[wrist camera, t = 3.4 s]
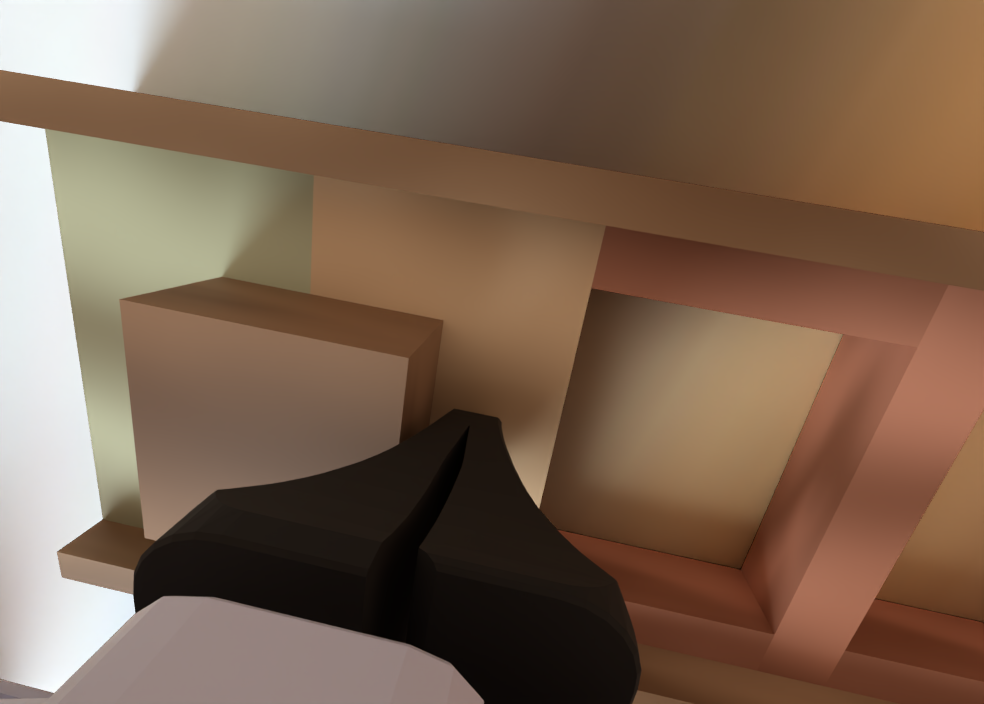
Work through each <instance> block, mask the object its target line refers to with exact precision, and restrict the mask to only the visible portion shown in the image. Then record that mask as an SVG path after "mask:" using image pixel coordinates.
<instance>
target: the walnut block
mask: <svg viewBox="0 0 984 704" xmlns="http://www.w3.org/2000/svg"><path fill="white" fill-rule="evenodd" d="M119 302H120V311H121V320H122V330H123V339H124V349H125V358H126V367H127V377H128V386H129V396H130V405H131V414H132V424H133V433H134V443H135V452H136V461H137V471H138V480H139V490H140V499H141V508H142V518H143V527H144V537H145V538H147V539H151V540H155V541H157V540H158V539H159V538H160V537H161V536H162V535H163V534H165V533H166V532H167V531H168V530H169V529H170V528H172V527H173V526H174V525H175V524H176V523H177V522H179V521H180V520H181V519H182V518H183V517H184V516H185V515H187V514H188V513H189V512H190V511H191V510H192V509H194V508H195V507H196V506H197V505H198V504H200V503H201V502H202V501H203V500H205V499H206V498H207V497H208V496H209V495H211V494H212V493H213V492H215V491H216V490H219V489H231V488H239V487H248V486H256V485H265V484H272V483H278V482H284V481H289V480H295V479H300V478H304V477H309V476H313V475H317V474H321V473H325V472H328V471H332V470H335V469H338V468H341V467H345V466H348V465H351V464H354V463H357V462H360V461H363V460H365V459H368V458H370V457H373V456H375V455H377V454H380V453H382V452H384V451H386V450H388V449H390V448H393V447H394V446H396V445H398V444H400V443H402V442H403V441H405V440H407V439H409V438H411V437H412V436H414V435H416V434H417V433H419V432H420V431H422V430H423V429H425V428H426V427H428V426H429V424H430V416H431V409H432V402H433V395H434V387H435V380H436V373H437V365H438V358H439V351H440V343H441V336H442V329H443V321H444V320H440V319H434V318H429V317H424V316H419V315H414V314H409V313H404V312H399V311H394V310H389V309H384V308H379V307H373V306H368V305H363V304H358V303H353V302H348V301H343V300H338V299H333V298H328V297H323V296H318V295H313V294H307V293H302V292H297V291H292V290H287V289H282V288H277V287H272V286H267V285H262V284H257V283H252V282H246V281H241V280H236V279H231V278H226V277H218V278H214V279H209V280H204V281H200V282H195V283H191V284H186V285H182V286H177V287H173V288H168V289H164V290H159V291H155V292H150V293H146V294H141V295H137V296H132V297H127V298H123V299H119Z"/></svg>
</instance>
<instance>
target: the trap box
mask: <svg viewBox="0 0 984 704" xmlns="http://www.w3.org/2000/svg"><path fill="white" fill-rule="evenodd" d="M0 121H3V122H9V123H14V124H20V125H26V126H32V127H38V128H43V129H45V131H46V138H47V145H48V152H49V158H50V165H51V172H52V179H53V185H54V192H55V199H56V206H57V212H58V219H59V226H60V233H61V239H62V246H63V253H64V259H65V266H66V273H67V280H68V286H69V293H70V300H71V307H72V313H73V320H74V327H75V334H76V340H77V347H78V354H79V361H80V367H81V374H82V381H83V387H84V394H85V401H86V408H87V414H88V421H89V428H90V435H91V441H92V448H93V455H94V462H95V468H96V475H97V482H98V489H99V495H100V502H101V509H102V515H103V520H101V521H100V522H99V523H97V524H96V525H94V526H93V527H92V528H90V529H89V530H87V531H86V532H84V533H83V534H82V535H80V536H79V537H77V538H76V539H75V540H73V541H72V542H70V543H69V544H67V545H66V546H65V547H63V548H62V549H60V550H59V551H57V555H58V560H59V565H60V570H61V575H62V577H63V578H67V579H71V580H75V581H79V582H84V583H88V584H92V585H96V586H100V587H104V588H108V589H113V590H117V591H121V592H125V593H129V594H133V581H134V571H135V568H136V566H137V563H138V561H139V559H140V556H141V555H142V554H143V553H144V552H145V551H146V550H147V549H148V548H149V547H150V546H151V545H152V544H153V543H154V542H155V540H151V539H147V538H145V537H144V527H143V518H142V508H141V499H140V490H139V480H138V471H137V461H136V452H135V443H134V433H133V424H132V414H131V405H130V396H129V386H128V377H127V367H126V358H125V349H124V339H123V330H122V320H121V311H120V302H119V299H123V298H127V297H132V296H137V295H141V294H146V293H150V292H155V291H159V290H164V289H168V288H173V287H177V286H182V285H186V284H191V283H195V282H200V281H204V280H209V279H214V278H218V277H226V278H231V279H236V280H241V281H246V282H252V283H257V284H262V285H267V286H272V287H277V288H282V289H287V290H292V291H297V292H302V293H307V294H313V295H318V296H323V297H328V298H333V299H338V300H343V301H348V302H353V303H358V304H363V305H368V306H373V307H379V308H384V309H389V310H394V311H399V312H404V313H409V314H414V315H419V316H424V317H429V318H434V319H440V320H444V321H443V329H442V336H441V343H440V351H439V358H438V365H437V373H436V380H435V387H434V395H433V402H432V409H431V416H430V424H429V425H431V424H432V423H434V422H435V421H437V420H438V419H440V418H441V417H442V416H444V415H445V414H447V413H448V412H450V411H451V410H453V409H459V410H464V411H469V412H474V413H478V414H483V415H488V416H493V417H498V418H499V419H500V421H501V422H502V432H503V436H504V440H505V444H506V447H507V450H508V452H509V455H510V457H511V460H512V462H513V465H514V467H515V469H516V471H517V473H518V475H519V477H520V479H521V481H522V483H523V485H524V487H525V488H526V490H527V492H528V493H529V495H530V496H531V498H532V499H533V501H534V502H535V504H536V505H537V507H538V508H539V507H540V503H541V499H542V495H543V490H544V486H545V482H546V478H547V473H548V469H549V465H550V461H551V456H552V452H553V448H554V444H555V439H556V435H557V431H558V427H559V422H560V418H561V414H562V410H563V405H564V401H565V397H566V393H567V389H568V384H569V380H570V376H571V372H572V367H573V363H574V359H575V355H576V350H577V346H578V342H579V338H580V333H581V329H582V325H583V321H584V316H585V312H586V308H587V304H588V299H589V295H590V291H591V288H593V289H598V290H603V291H609V292H614V293H620V294H625V295H631V296H636V297H642V298H647V299H653V300H658V301H664V302H669V303H675V304H680V305H686V306H691V307H697V308H702V309H708V310H713V311H719V312H724V313H730V314H735V315H741V316H746V317H752V318H757V319H763V320H768V321H774V322H779V323H785V324H790V325H796V326H801V327H807V328H812V329H818V330H823V331H829V332H834V333H840V334H843V337H842V339H841V341H840V343H839V346H838V348H837V350H836V353H835V355H834V357H833V360H832V362H831V364H830V366H829V369H828V371H827V373H826V376H825V378H824V380H823V382H822V385H821V387H820V389H819V392H818V394H817V396H816V399H815V401H814V403H813V405H812V408H811V410H810V412H809V415H808V417H807V419H806V421H805V424H804V426H803V428H802V431H801V433H800V435H799V437H798V440H797V442H796V444H795V447H794V449H793V451H792V454H791V456H790V458H789V460H788V463H787V465H786V467H785V470H784V472H783V474H782V476H781V479H780V481H779V483H778V486H777V488H776V490H775V492H774V495H773V497H772V499H771V502H770V504H769V506H768V509H767V511H766V513H765V515H764V518H763V520H762V522H761V525H760V527H759V529H758V531H757V534H756V536H755V538H754V541H753V543H752V545H751V548H750V550H749V552H748V554H747V557H746V559H745V561H744V564H743V566H742V568H741V570H740V569H735V568H731V567H726V566H721V565H717V564H712V563H708V562H703V561H698V560H694V559H689V558H685V557H680V556H675V555H671V554H666V553H662V552H657V551H653V550H648V549H643V548H639V547H634V546H630V545H625V544H620V543H616V542H611V541H607V540H602V539H597V538H593V537H588V536H584V535H579V534H574V533H570V532H565V531H561V530H558V531H559V532H560V533H561V534H562V535H563V536H564V537H565V538H566V539H567V540H568V541H569V542H570V543H571V544H572V545H573V546H574V547H576V548H577V549H578V550H579V551H580V552H581V553H582V554H583V555H585V556H586V557H587V558H588V559H590V560H591V561H592V562H594V563H595V564H596V565H598V566H599V567H600V568H601V569H603V570H604V571H605V572H607V573H608V574H609V575H611V576H612V577H613V578H614V579H616V580H617V582H618V585H619V587H620V590H621V593H622V596H623V598H624V601H625V604H626V607H627V610H628V613H629V616H630V619H631V622H632V625H633V628H634V632H635V636H636V640H637V645H638V650H639V657H640V664H641V670H642V671H641V676H640V681H639V686H638V690H637V693H636V695H635V698H634V701H633V703H632V704H984V623H983V622H978V621H974V620H969V619H965V618H960V617H955V616H951V615H946V614H942V613H937V612H933V611H928V610H923V609H919V608H914V607H910V606H905V605H900V604H896V603H891V602H887V601H882V600H877V599H875V597H876V596H877V594H878V592H879V591H880V589H881V587H882V585H883V584H884V582H885V580H886V578H887V577H888V575H889V573H890V571H891V570H892V568H893V566H894V565H895V563H896V561H897V559H898V558H899V556H900V554H901V552H902V551H903V549H904V547H905V545H906V544H907V542H908V540H909V538H910V537H911V535H912V533H913V532H914V530H915V528H916V526H917V525H918V523H919V521H920V519H921V518H922V516H923V514H924V512H925V511H926V509H927V507H928V505H929V504H930V502H931V500H932V499H933V497H934V495H935V493H936V492H937V490H938V488H939V486H940V485H941V483H942V481H943V479H944V478H945V476H946V474H947V472H948V471H949V469H950V467H951V466H952V464H953V462H954V460H955V459H956V457H957V455H958V453H959V452H960V450H961V448H962V446H963V445H964V443H965V441H966V440H967V438H968V436H969V434H970V433H971V431H972V429H973V427H974V426H975V424H976V422H977V420H978V419H979V417H980V415H981V413H982V412H983V410H984V232H981V231H975V230H969V229H963V228H957V227H951V226H945V225H939V224H933V223H926V222H920V221H914V220H908V219H902V218H896V217H890V216H884V215H878V214H872V213H866V212H860V211H854V210H848V209H841V208H835V207H829V206H823V205H817V204H811V203H805V202H799V201H793V200H787V199H781V198H775V197H769V196H762V195H756V194H750V193H744V192H738V191H732V190H726V189H720V188H714V187H708V186H702V185H696V184H690V183H684V182H677V181H671V180H665V179H659V178H653V177H647V176H641V175H635V174H629V173H623V172H617V171H611V170H605V169H598V168H592V167H586V166H580V165H574V164H568V163H562V162H556V161H550V160H544V159H538V158H532V157H526V156H520V155H513V154H507V153H501V152H495V151H489V150H483V149H477V148H471V147H465V146H459V145H453V144H447V143H441V142H434V141H428V140H422V139H416V138H410V137H404V136H398V135H392V134H386V133H380V132H374V131H368V130H362V129H356V128H349V127H343V126H337V125H331V124H325V123H319V122H313V121H307V120H301V119H295V118H289V117H283V116H277V115H270V114H264V113H258V112H252V111H246V110H240V109H234V108H228V107H222V106H216V105H210V104H204V103H198V102H191V101H185V100H179V99H173V98H167V97H161V96H155V95H149V94H143V93H137V92H131V91H125V90H119V89H113V88H106V87H100V86H94V85H88V84H82V83H76V82H70V81H64V80H58V79H52V78H46V77H40V76H34V75H27V74H21V73H15V72H9V71H3V70H0Z"/></svg>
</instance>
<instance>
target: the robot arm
mask: <svg viewBox="0 0 984 704" xmlns="http://www.w3.org/2000/svg"><path fill="white" fill-rule="evenodd" d="M133 596H134V604H135V612H136V613H135V614H134V615H133V616H132V617H131V618H130V619H129V620H128V621H127V622H126V623H125V624H124V625H123V626H122V627H121V628H120V629H119V630H118V631H117V632H116V633H115V634H114V635H113V636H112V637H111V638H110V639H109V640H108V641H107V642H106V643H105V644H104V645H103V646H102V647H101V648H100V649H99V650H98V651H97V652H96V653H95V654H94V655H93V656H92V657H91V658H90V659H88V660H87V661H86V662H85V663H84V664H83V665H82V666H81V667H80V668H79V669H78V670H77V671H76V672H75V673H74V674H73V675H72V676H71V677H70V678H69V679H68V680H67V681H66V682H65V683H64V684H63V685H62V686H61V687H60V688H59V689H58V690H57V691H56V692H55V693H51V692H48V691H44V690H40V689H36V688H32V687H29V686H25V685H21V684H17V683H13V682H10V681H6V680H2V679H0V704H632V703H633V701H634V698H635V695H636V693H637V690H638V686H639V681H640V676H641V671H642V670H641V664H640V657H639V650H638V645H637V640H636V636H635V632H634V628H633V625H632V622H631V619H630V616H629V613H628V610H627V607H626V604H625V601H624V598H623V596H622V593H621V590H620V587H619V585H618V582H617V580H616V579H614V578H613V577H612V576H611V575H609V574H608V573H607V572H605V571H604V570H603V569H601V568H600V567H599V566H598V565H596V564H595V563H594V562H592V561H591V560H590V559H588V558H587V557H586V556H585V555H583V554H582V553H581V552H580V551H579V550H578V549H577V548H576V547H574V546H573V545H572V544H571V543H570V542H569V541H568V540H567V539H566V538H565V537H564V536H563V535H562V534H561V533H560V532H559V531H558V530H557V529H556V528H555V527H554V526H553V525H552V524H551V522H550V521H549V520H548V519H547V518H546V516H545V515H544V514H543V513H542V512H541V511H540V509H539V508H538V507H537V505H536V504H535V502H534V501H533V499H532V498H531V496H530V495H529V493H528V492H527V490H526V488H525V487H524V485H523V483H522V481H521V479H520V477H519V475H518V473H517V471H516V469H515V467H514V465H513V462H512V460H511V457H510V455H509V452H508V450H507V447H506V444H505V440H504V436H503V432H502V422H501V421H500V419H499V418H498V417H493V416H488V415H483V414H478V413H474V412H469V411H464V410H459V409H453V410H451V411H450V412H448V413H447V414H445V415H444V416H442V417H441V418H440V419H438V420H437V421H435V422H434V423H432V424H431V425H429V426H428V427H426V428H425V429H423V430H422V431H420V432H419V433H417V434H416V435H414V436H412V437H411V438H409V439H407V440H405V441H403V442H402V443H400V444H398V445H396V446H394V447H393V448H390V449H388V450H386V451H384V452H382V453H380V454H377V455H375V456H373V457H370V458H368V459H365V460H363V461H360V462H357V463H354V464H351V465H348V466H345V467H341V468H338V469H335V470H332V471H328V472H325V473H321V474H317V475H313V476H309V477H304V478H300V479H295V480H289V481H284V482H278V483H272V484H265V485H256V486H248V487H239V488H231V489H219V490H216V491H215V492H213V493H212V494H211V495H209V496H208V497H207V498H206V499H205V500H203V501H202V502H201V503H200V504H198V505H197V506H196V507H195V508H194V509H192V510H191V511H190V512H189V513H188V514H187V515H185V516H184V517H183V518H182V519H181V520H180V521H179V522H177V523H176V524H175V525H174V526H173V527H172V528H170V529H169V530H168V531H167V532H166V533H165V534H163V535H162V536H161V537H160V538H159V539H158V540H157V541H155V542H154V543H153V544H152V545H151V546H150V547H149V548H148V549H147V550H146V551H145V552H144V553H143V554H142V555H141V556H140V559H139V561H138V563H137V566H136V568H135V571H134V581H133Z"/></svg>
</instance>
